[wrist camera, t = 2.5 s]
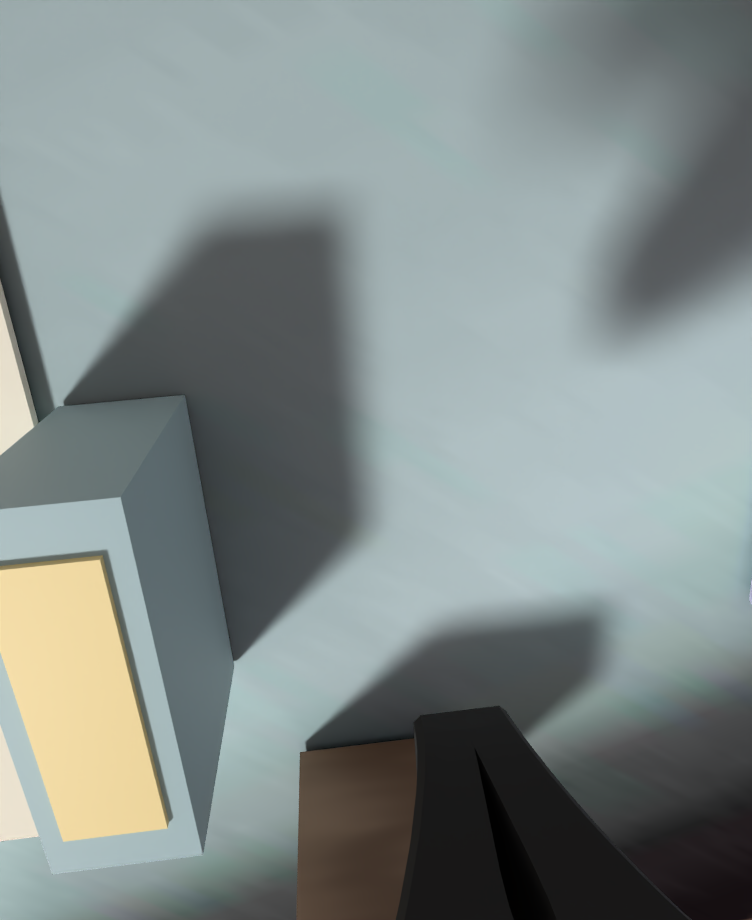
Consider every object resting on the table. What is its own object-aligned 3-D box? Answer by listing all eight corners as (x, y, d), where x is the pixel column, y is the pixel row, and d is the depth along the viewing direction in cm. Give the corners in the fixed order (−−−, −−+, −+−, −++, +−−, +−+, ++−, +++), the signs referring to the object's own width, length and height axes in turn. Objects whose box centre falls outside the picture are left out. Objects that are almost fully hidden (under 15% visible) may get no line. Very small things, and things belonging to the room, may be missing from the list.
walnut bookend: (463, 732, 21) (518, 927, 15) (465, 791, 22) (518, 995, 16) (300, 752, 21) (295, 958, 15) (308, 811, 22) (307, 1026, 16)
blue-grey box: (185, 394, 17) (118, 501, 11) (234, 666, 20) (201, 862, 14) (57, 406, 16) (-77, 521, 11) (126, 678, 19) (50, 881, 14)
